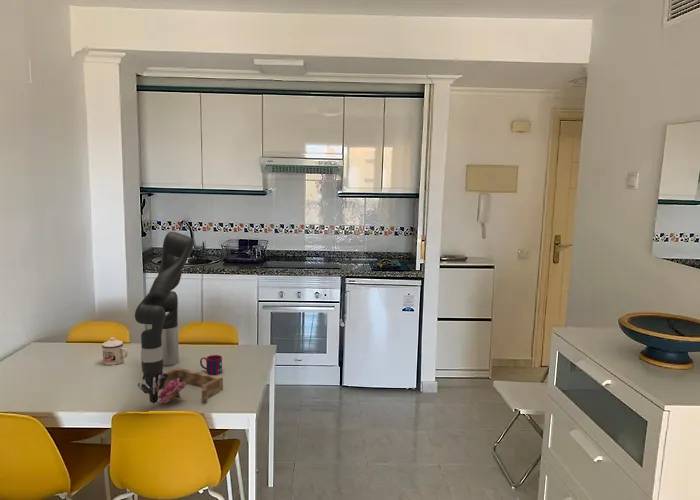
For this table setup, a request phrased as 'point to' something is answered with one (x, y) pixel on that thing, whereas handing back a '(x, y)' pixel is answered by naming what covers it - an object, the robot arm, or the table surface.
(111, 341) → the teacup with lid
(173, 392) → the flower
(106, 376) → the table surface
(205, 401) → the wooden slat frame
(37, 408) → the table surface
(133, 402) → the table surface
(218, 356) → the cup
